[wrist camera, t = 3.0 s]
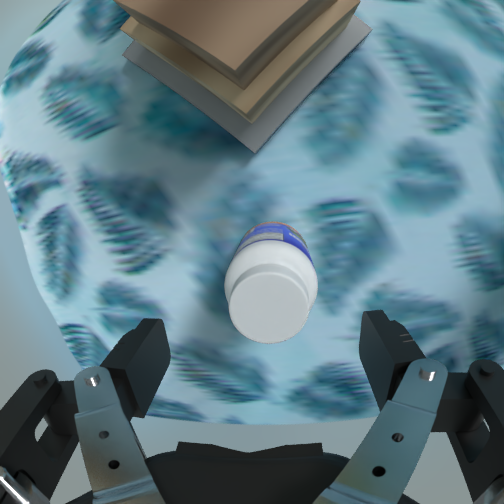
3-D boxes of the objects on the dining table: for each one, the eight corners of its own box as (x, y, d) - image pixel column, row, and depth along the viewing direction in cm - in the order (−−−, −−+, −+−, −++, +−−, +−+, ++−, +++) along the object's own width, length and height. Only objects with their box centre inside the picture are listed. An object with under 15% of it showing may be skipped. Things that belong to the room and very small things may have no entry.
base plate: (368, 34, 18) (372, 29, 17) (255, 153, 22) (254, 153, 21) (236, -47, 16) (234, -54, 15) (128, 59, 20) (121, 55, 19)
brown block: (346, 27, 17) (377, -30, 9) (252, 123, 20) (237, 99, 12) (236, -39, 16) (220, -102, 8) (145, 48, 19) (89, 7, 11)
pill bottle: (315, 275, 24) (336, 341, 15) (251, 293, 25) (237, 366, 16) (295, 210, 23) (309, 243, 14) (228, 231, 24) (198, 276, 14)
